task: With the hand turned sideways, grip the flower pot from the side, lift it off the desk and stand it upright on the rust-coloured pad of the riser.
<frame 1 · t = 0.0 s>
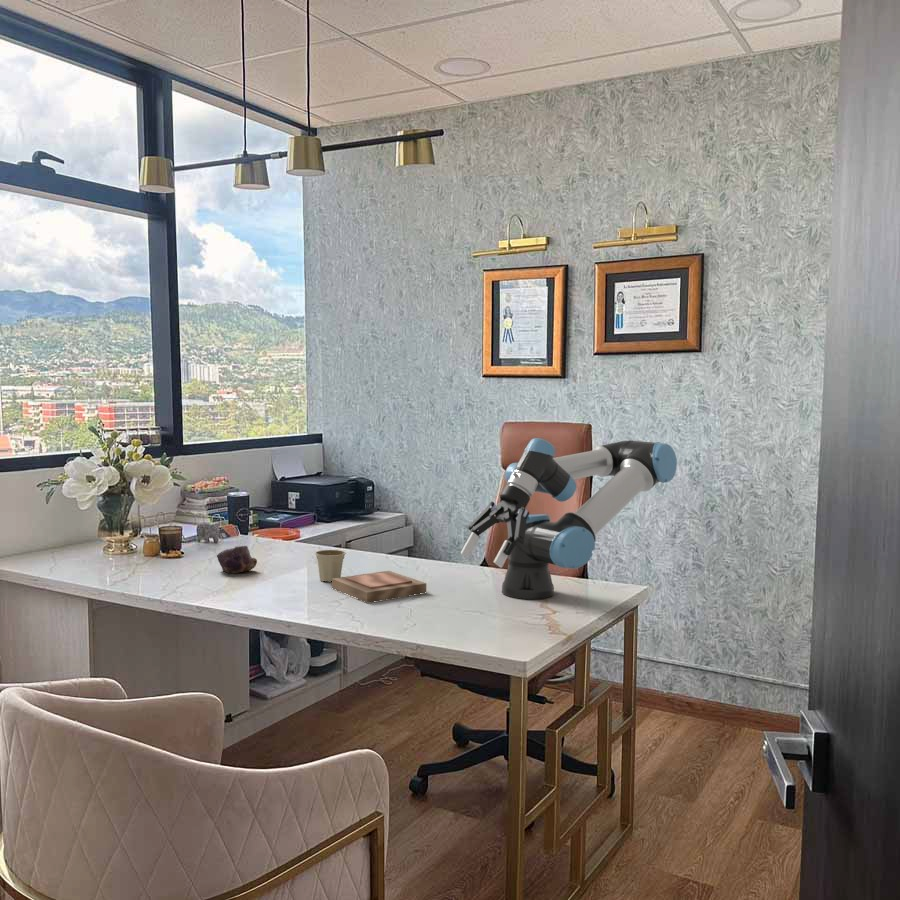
hand: (480, 560, 216), 15 cm above the table, tool tilted 35°, fingers open, 13 cm apart
rock: (234, 573, 267), on the table
flower pot: (330, 580, 258), on the table
riser: (378, 591, 245), on the table
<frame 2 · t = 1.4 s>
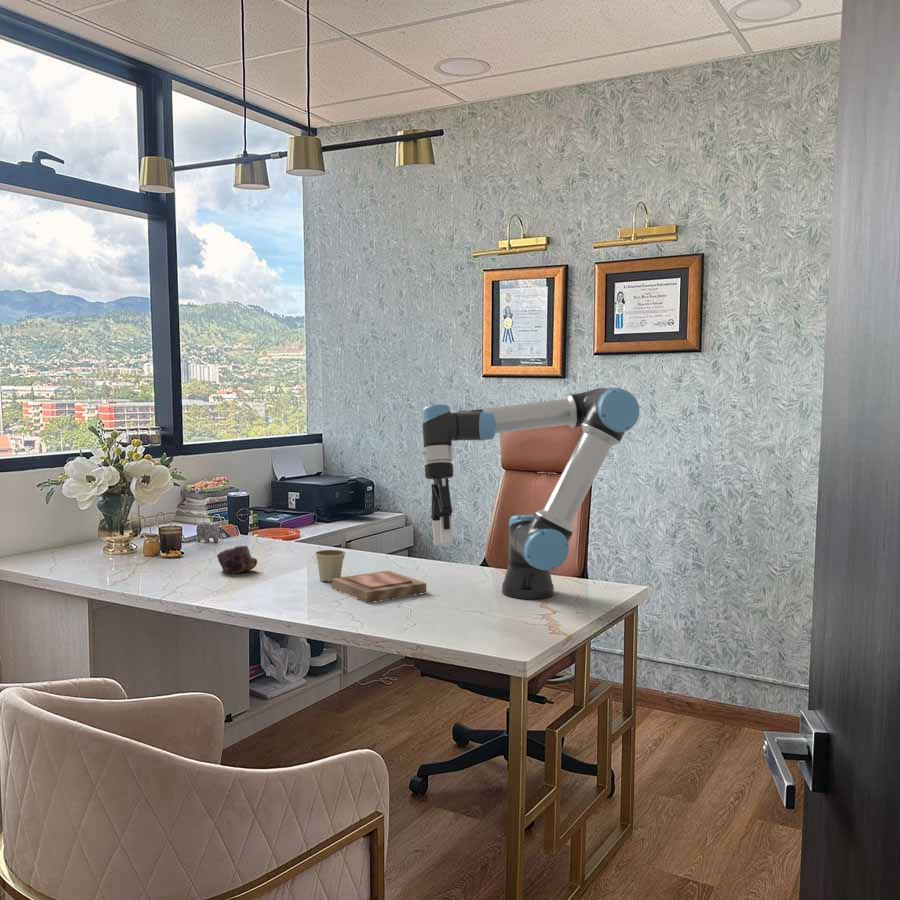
hand: (442, 543, 219), 19 cm above the table, tool pointing down, fingers open, 13 cm apart
nothing on the table moved.
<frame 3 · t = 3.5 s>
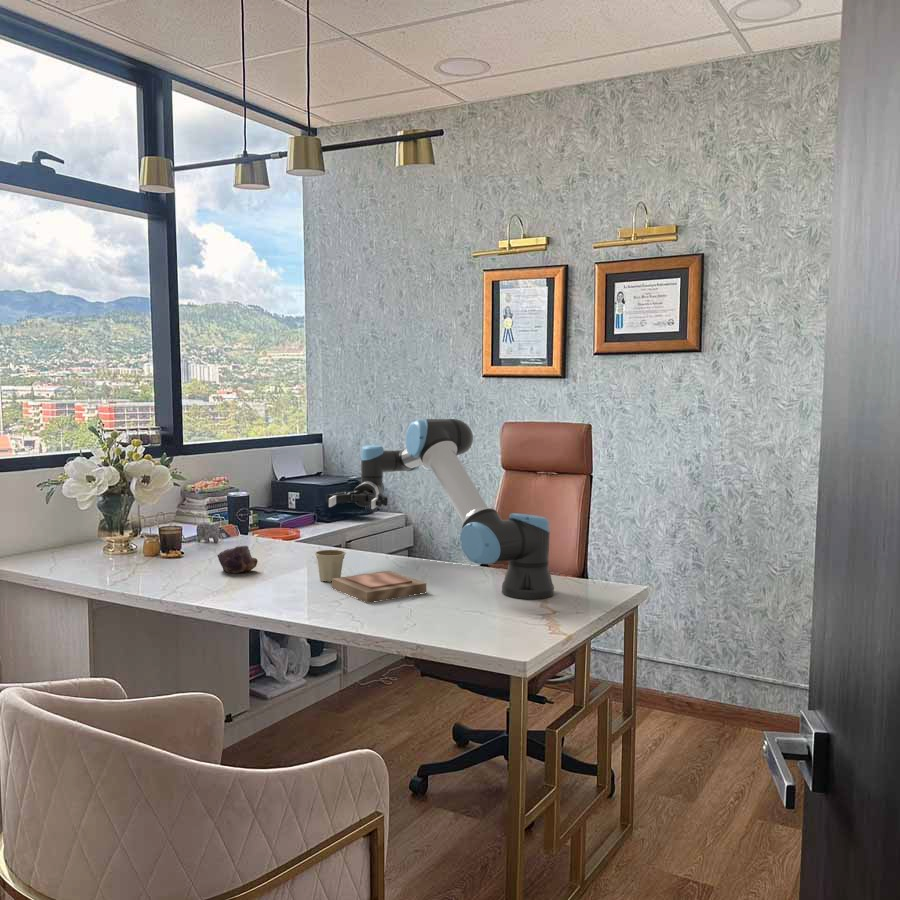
hand: (351, 503, 263), 23 cm above the table, tool horizontal, fingers open, 13 cm apart
nothing on the table moved.
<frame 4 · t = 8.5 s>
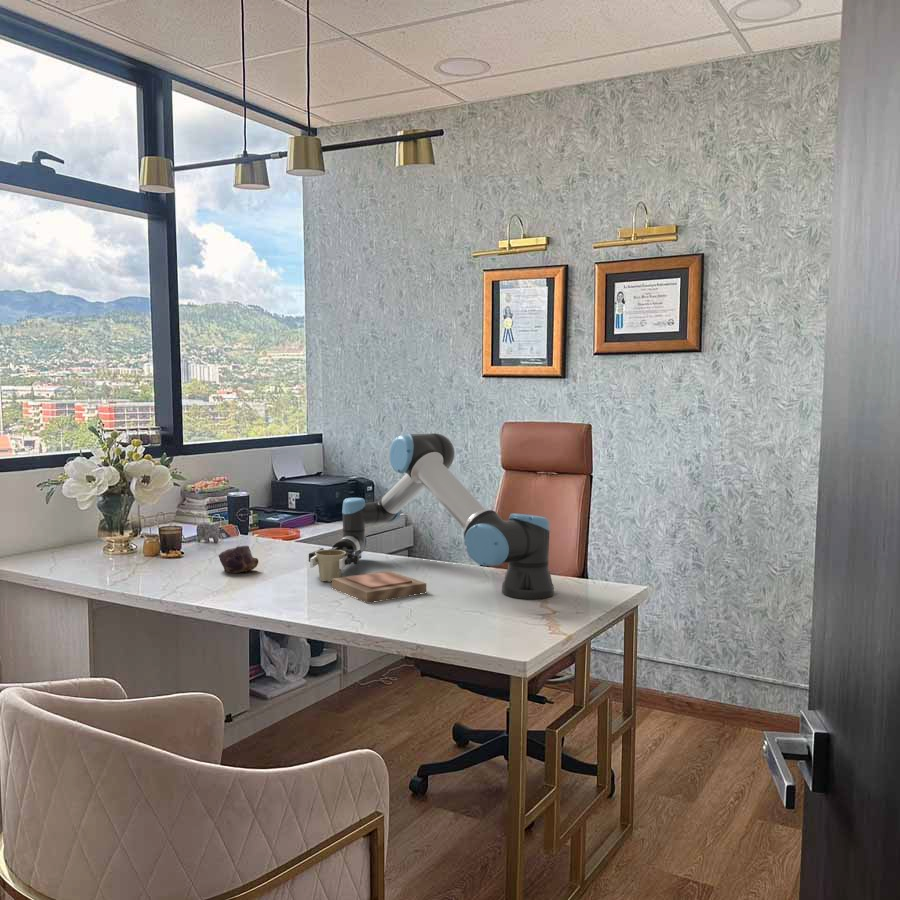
hand: (325, 563, 253), 6 cm above the table, tool horizontal, fingers closed on flower pot, 8 cm apart
flower pot: (330, 580, 258), on the table, touching gripper
everything else where it was.
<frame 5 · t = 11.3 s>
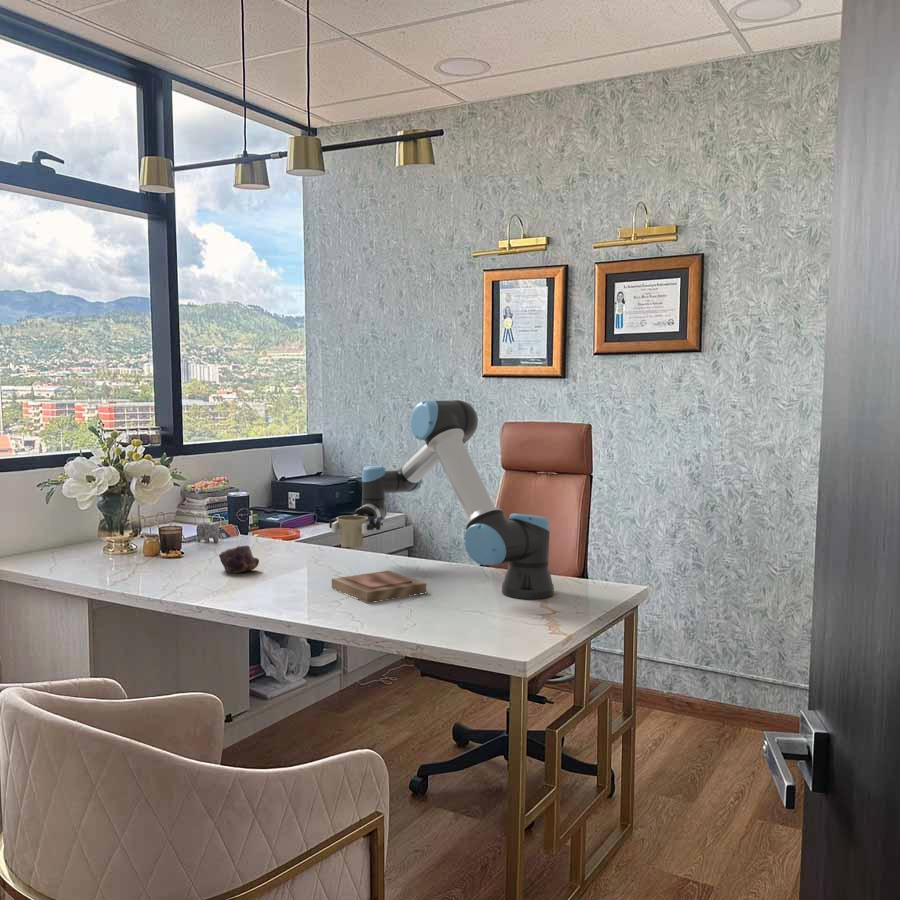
hand: (347, 528, 247), 18 cm above the table, tool horizontal, fingers closed on flower pot, 8 cm apart
flower pot: (351, 546, 252), point 11 cm above the table, touching gripper
everything else where it was.
when the fingers open (11 cm above the table, at t = 14.2 s): flower pot drops 1 cm, resting on riser.
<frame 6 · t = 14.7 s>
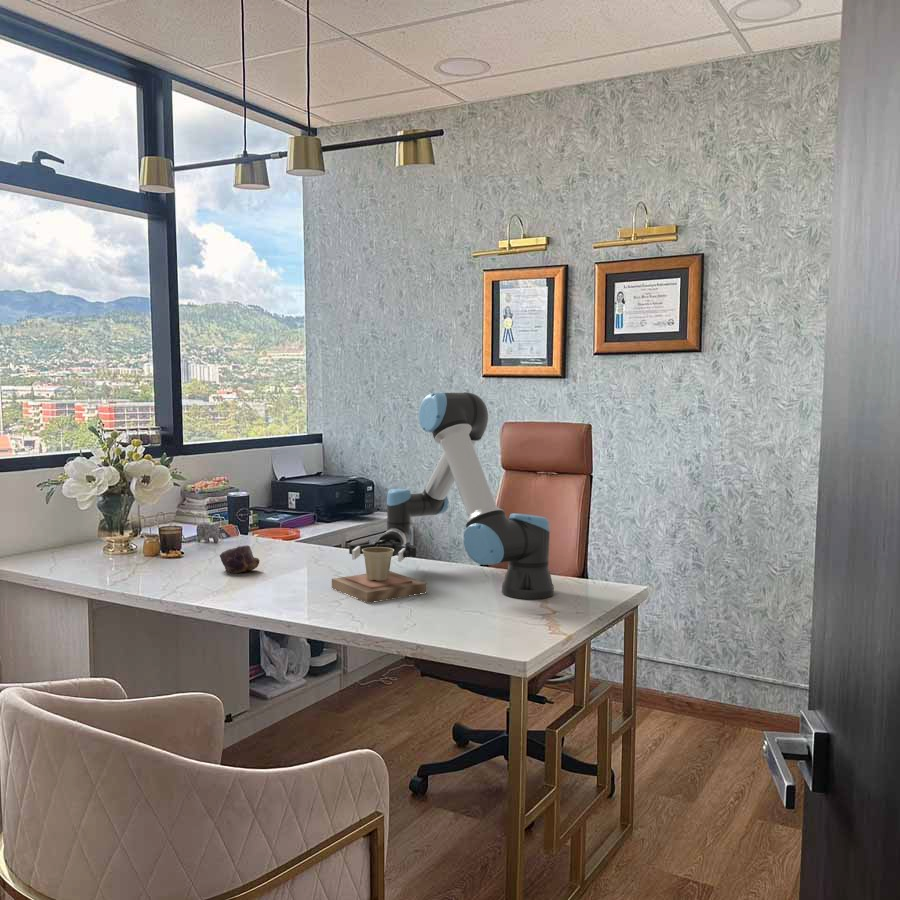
hand: (376, 556, 241), 11 cm above the table, tool horizontal, fingers open, 13 cm apart
flower pot: (377, 579, 245), point 3 cm above the table, touching riser
everything else where it was.
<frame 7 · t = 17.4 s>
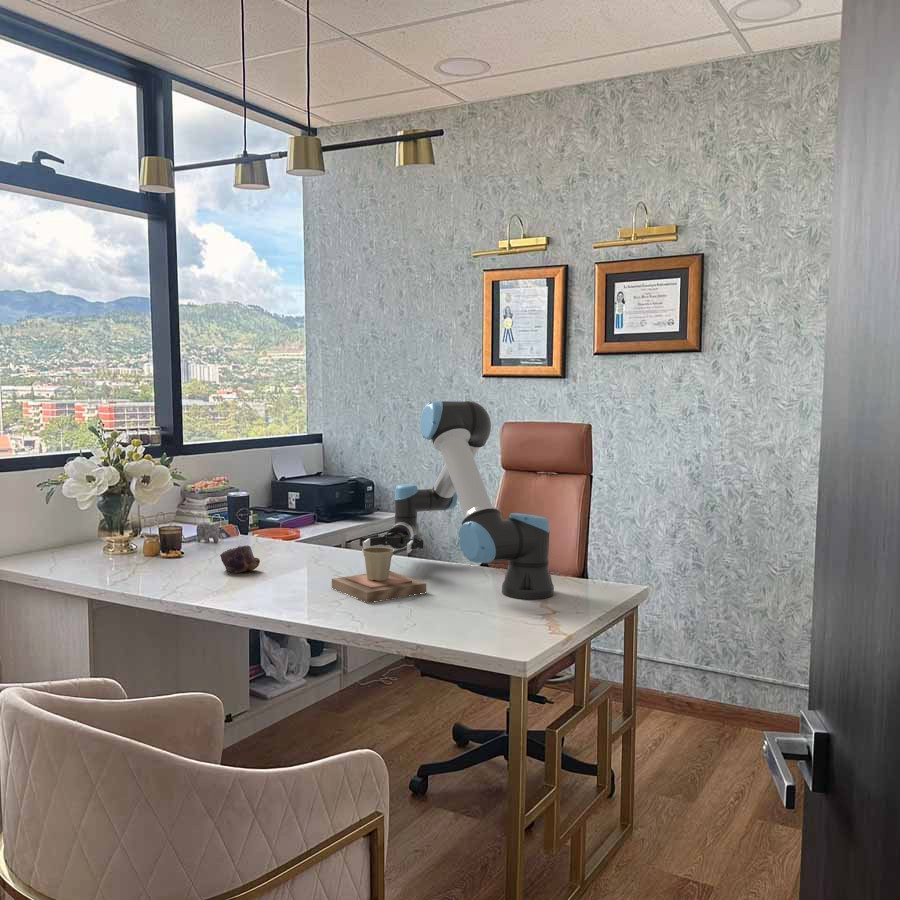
hand: (385, 547, 253), 11 cm above the table, tool horizontal, fingers open, 13 cm apart
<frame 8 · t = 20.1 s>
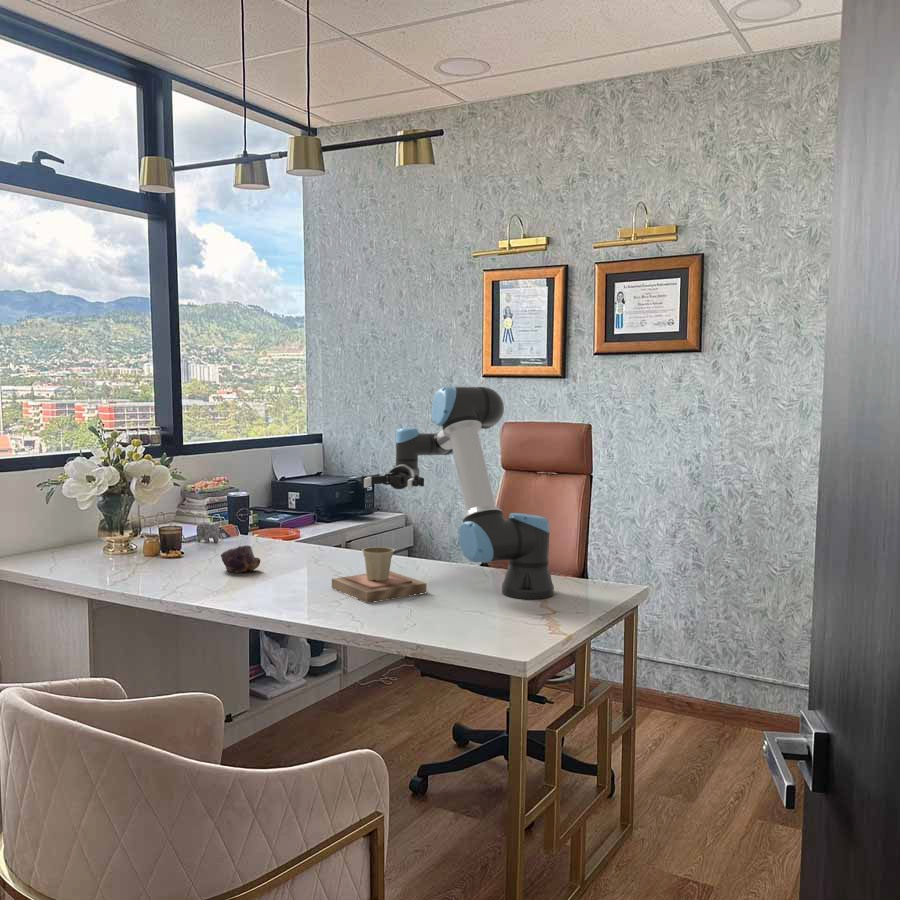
hand: (386, 484, 255), 30 cm above the table, tool horizontal, fingers open, 13 cm apart
at the end: flower pot inside the target area on the riser (0.4 cm from its centre), point 3.3 cm above the riser's base; flower pot tilted 0°; the gripper is holding nothing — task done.
